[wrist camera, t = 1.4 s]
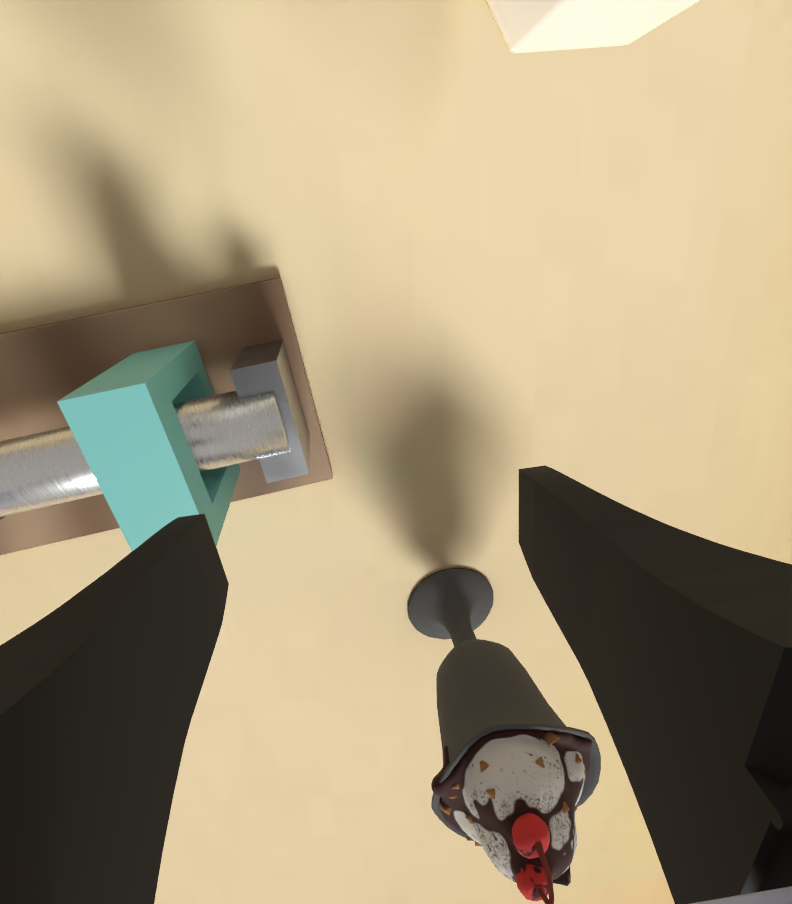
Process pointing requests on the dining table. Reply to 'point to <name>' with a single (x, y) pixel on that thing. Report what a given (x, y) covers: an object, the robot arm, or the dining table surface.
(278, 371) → the metal rail stand
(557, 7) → the jar
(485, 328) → the dining table surface
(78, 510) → the base board
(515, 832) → the sundae
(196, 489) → the collar
